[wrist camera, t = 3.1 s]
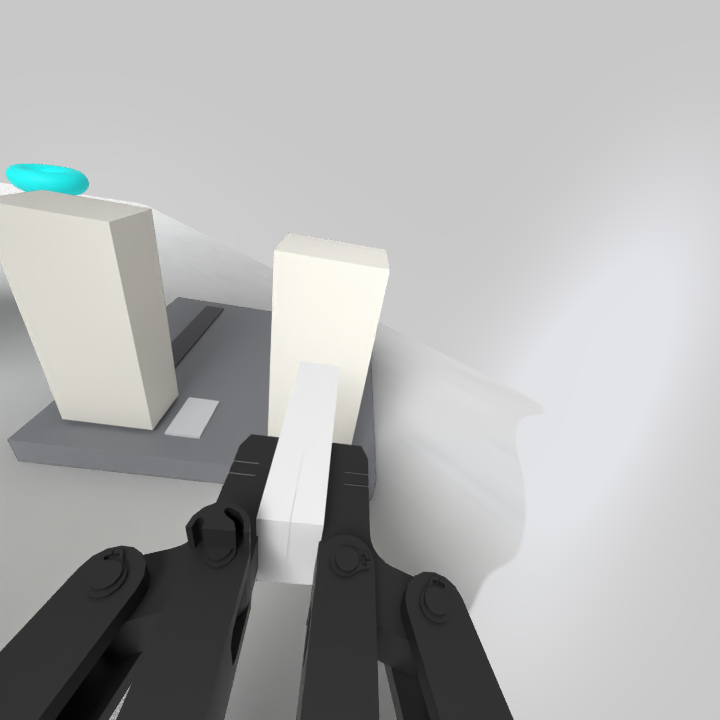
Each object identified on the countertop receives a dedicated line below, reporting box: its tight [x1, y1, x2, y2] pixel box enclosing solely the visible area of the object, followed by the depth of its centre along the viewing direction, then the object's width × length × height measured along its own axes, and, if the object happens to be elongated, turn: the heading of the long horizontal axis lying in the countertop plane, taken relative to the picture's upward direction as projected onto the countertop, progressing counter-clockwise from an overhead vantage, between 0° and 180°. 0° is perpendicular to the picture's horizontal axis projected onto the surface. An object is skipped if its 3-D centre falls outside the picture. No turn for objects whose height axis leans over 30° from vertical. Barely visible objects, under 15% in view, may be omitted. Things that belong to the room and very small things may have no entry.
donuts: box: [6, 164, 89, 195], centre depth 57 cm, size 10×10×10 cm
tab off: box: [0, 190, 178, 430], centre depth 22 cm, size 4×6×14 cm, turn 90°
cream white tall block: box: [268, 233, 390, 445], centre depth 23 cm, size 4×6×14 cm, turn 90°
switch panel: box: [8, 297, 376, 500], centre depth 33 cm, size 24×24×2 cm
